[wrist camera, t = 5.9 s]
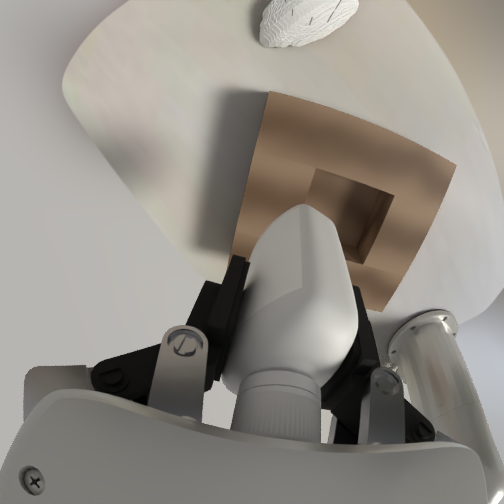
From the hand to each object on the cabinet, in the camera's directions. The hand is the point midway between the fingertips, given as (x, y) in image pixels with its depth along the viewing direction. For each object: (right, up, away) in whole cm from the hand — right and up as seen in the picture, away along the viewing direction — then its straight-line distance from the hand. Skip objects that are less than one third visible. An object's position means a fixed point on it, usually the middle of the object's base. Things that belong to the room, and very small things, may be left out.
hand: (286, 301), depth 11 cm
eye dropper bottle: (+1, +2, +4) cm, 4 cm away
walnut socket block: (+7, +7, +16) cm, 19 cm away
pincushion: (+4, +24, +7) cm, 26 cm away
